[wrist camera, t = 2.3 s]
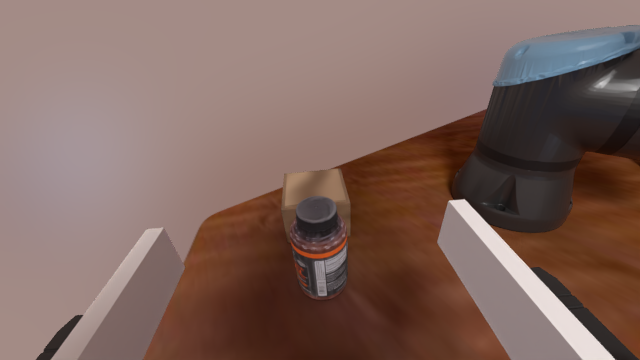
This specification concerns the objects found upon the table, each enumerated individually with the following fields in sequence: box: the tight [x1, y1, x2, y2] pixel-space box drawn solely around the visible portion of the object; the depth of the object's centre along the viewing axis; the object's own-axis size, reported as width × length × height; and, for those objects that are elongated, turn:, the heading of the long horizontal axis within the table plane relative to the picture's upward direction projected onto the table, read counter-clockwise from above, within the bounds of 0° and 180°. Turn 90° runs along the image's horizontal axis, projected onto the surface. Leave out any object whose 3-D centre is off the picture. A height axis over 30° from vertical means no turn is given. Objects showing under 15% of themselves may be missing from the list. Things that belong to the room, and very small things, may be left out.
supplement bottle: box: [290, 196, 348, 300], centre depth 27 cm, size 6×6×11 cm
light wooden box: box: [281, 169, 350, 243], centre depth 38 cm, size 9×9×6 cm
